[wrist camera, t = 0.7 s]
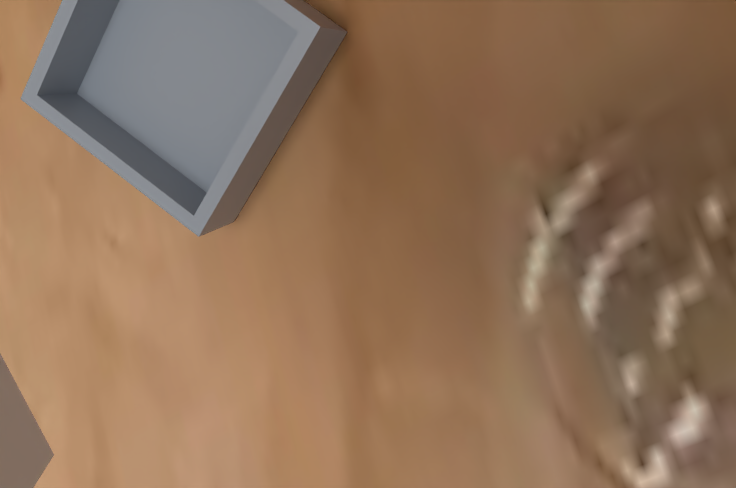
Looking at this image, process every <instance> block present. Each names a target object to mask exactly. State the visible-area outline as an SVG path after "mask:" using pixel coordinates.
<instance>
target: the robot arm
mask: <svg viewBox="0 0 736 488" xmlns="http://www.w3.org/2000/svg"><path fill="white" fill-rule="evenodd" d="M53 456H54V454H53V452H52V450H51V448H50V446H49V444H48V443H47V441H46V439H45V437H44V435H43V433H42V431H41V429H40V427H39V426H38V424H37V422H36V420H35V418H34V416H33V414H32V412H31V411H30V409H29V407H28V405H27V403H26V401H25V399H24V397H23V395H22V394H21V392H20V390H19V388H18V386H17V384H16V382H15V380H14V378H13V377H12V375H11V373H10V371H9V369H8V367H7V365H6V363H5V362H4V360H3V358H2V356H1V354H0V488H33V487H34V486H35V484H36V482H37V481H38V479H39V478H40V476H41V475H42V473H43V471H44V470H45V468H46V467H47V465H48V463H49V462H50V460H51V459H52V457H53Z"/></svg>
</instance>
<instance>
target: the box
mask: <svg viewBox="0 0 736 488" xmlns="http://www.w3.org/2000/svg"><path fill="white" fill-rule="evenodd" d="M346 33H347V31H345V30H344V29H343V28H341V27H340V26H339V25H337V24H336V23H334V22H333V21H332V20H330V19H329V18H327V17H326V16H325V15H323V14H322V13H320V12H319V11H318V10H316V9H315V8H313V7H312V6H311V5H309V4H308V3H306V2H305V1H304V0H62V2H61V5H60V7H59V9H58V12H57V14H56V16H55V19H54V21H53V24H52V26H51V28H50V31H49V33H48V35H47V38H46V40H45V42H44V45H43V47H42V49H41V52H40V54H39V57H38V59H37V61H36V64H35V66H34V68H33V71H32V73H31V75H30V78H29V80H28V82H27V85H26V87H25V89H24V92H23V94H22V97H21V100H22V101H24V102H25V103H26V104H28V105H29V106H30V107H32V108H33V109H34V110H35V111H37V112H38V113H39V114H41V115H42V116H43V117H44V118H46V119H47V120H48V121H50V122H51V123H52V124H54V125H55V126H56V127H57V128H59V129H60V130H61V131H63V132H64V133H65V134H67V135H68V136H69V137H70V138H72V139H73V140H74V141H76V142H77V143H78V144H79V145H81V146H82V147H83V148H85V149H86V150H87V151H89V152H90V153H91V154H92V155H94V156H95V157H96V158H98V159H99V160H100V161H101V162H103V163H104V164H105V165H107V166H108V167H109V168H111V169H112V170H113V171H114V172H116V173H117V174H118V175H120V176H121V177H122V178H123V179H125V180H126V181H127V182H129V183H130V184H131V185H133V186H134V187H135V188H136V189H138V190H139V191H140V192H142V193H143V194H144V195H145V196H147V197H148V198H149V199H151V200H152V201H153V202H155V203H156V204H157V205H158V206H160V207H161V208H162V209H164V210H165V211H166V212H167V213H169V214H170V215H171V216H173V217H174V218H175V219H177V220H178V221H179V222H180V223H182V224H183V225H184V226H186V227H187V228H188V229H189V230H191V231H192V232H193V233H195V234H196V235H197V236H201V235H204V234H206V233H209V232H211V231H213V230H216V229H218V228H220V227H223V226H225V225H227V224H230V223H232V222H234V221H235V219H236V218H237V216H238V214H239V213H240V211H241V209H242V208H243V206H244V204H245V202H246V201H247V199H248V197H249V196H250V194H251V192H252V191H253V189H254V187H255V186H256V184H257V182H258V181H259V179H260V177H261V176H262V174H263V172H264V171H265V169H266V167H267V166H268V164H269V162H270V161H271V159H272V157H273V156H274V154H275V152H276V151H277V149H278V147H279V146H280V144H281V142H282V141H283V139H284V137H285V136H286V134H287V132H288V131H289V129H290V127H291V126H292V124H293V122H294V121H295V119H296V117H297V115H298V114H299V112H300V110H301V109H302V107H303V105H304V104H305V102H306V100H307V99H308V97H309V95H310V94H311V92H312V90H313V89H314V87H315V85H316V84H317V82H318V80H319V79H320V77H321V75H322V74H323V72H324V70H325V69H326V67H327V65H328V64H329V62H330V60H331V59H332V57H333V55H334V54H335V52H336V50H337V49H338V47H339V45H340V44H341V42H342V40H343V39H344V37H345V35H346Z"/></svg>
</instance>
